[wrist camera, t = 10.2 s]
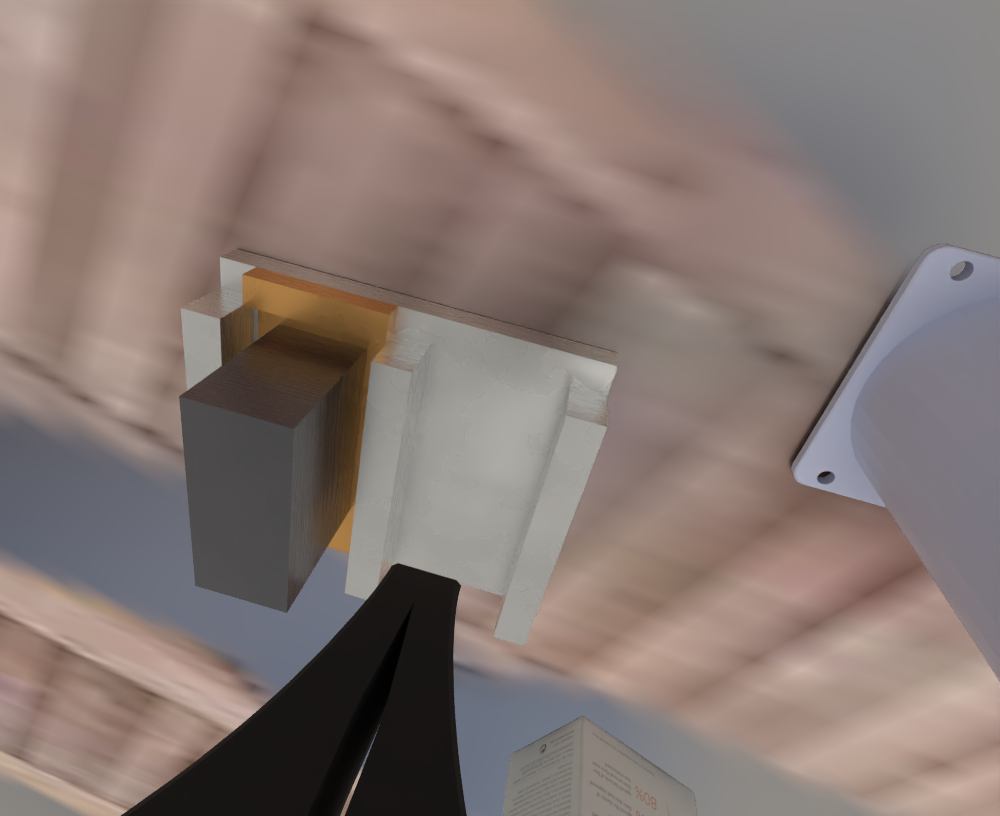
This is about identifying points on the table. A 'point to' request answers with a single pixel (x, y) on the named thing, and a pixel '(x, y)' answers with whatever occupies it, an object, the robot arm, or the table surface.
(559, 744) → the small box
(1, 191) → the table surface
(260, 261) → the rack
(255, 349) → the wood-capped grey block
